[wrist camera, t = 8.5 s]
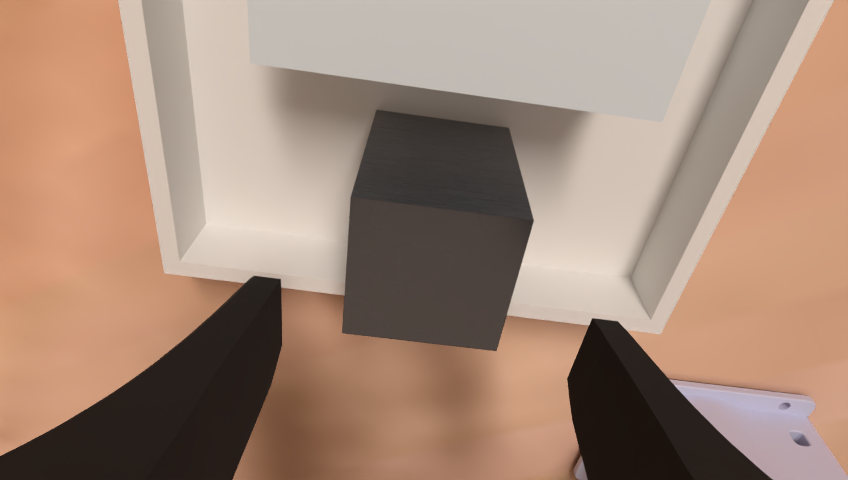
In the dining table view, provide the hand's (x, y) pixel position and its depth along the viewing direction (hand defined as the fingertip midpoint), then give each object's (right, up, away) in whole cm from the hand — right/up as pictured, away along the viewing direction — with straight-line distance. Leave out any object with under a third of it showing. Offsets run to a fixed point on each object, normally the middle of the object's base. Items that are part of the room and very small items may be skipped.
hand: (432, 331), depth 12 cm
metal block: (0, +4, +7) cm, 8 cm away
